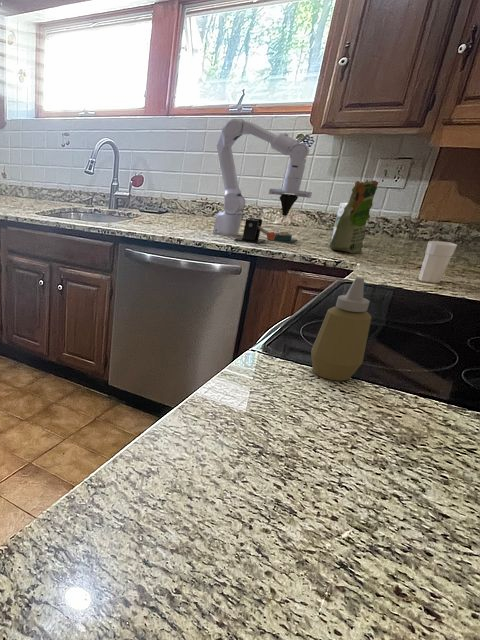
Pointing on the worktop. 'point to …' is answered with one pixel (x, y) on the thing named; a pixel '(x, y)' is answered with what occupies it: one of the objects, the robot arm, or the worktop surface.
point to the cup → (436, 260)
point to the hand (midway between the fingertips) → (284, 215)
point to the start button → (283, 232)
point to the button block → (283, 238)
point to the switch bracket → (251, 232)
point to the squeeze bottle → (343, 336)
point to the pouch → (354, 218)
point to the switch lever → (267, 233)
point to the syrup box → (338, 216)
